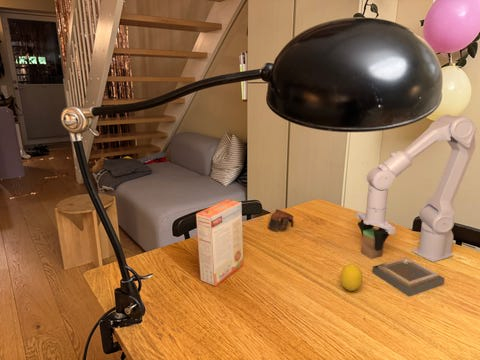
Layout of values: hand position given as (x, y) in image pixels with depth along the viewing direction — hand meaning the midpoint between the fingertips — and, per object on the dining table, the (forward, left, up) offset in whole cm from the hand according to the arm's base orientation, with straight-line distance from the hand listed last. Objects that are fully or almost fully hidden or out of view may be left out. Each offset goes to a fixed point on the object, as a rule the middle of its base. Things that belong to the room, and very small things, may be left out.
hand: (372, 246), depth 111 cm
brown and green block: (0, 0, -3) cm, 3 cm away
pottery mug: (+16, -30, -3) cm, 35 cm away
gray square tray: (+1, +15, -3) cm, 15 cm away
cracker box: (+48, -10, -3) cm, 49 cm away
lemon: (+20, +13, -3) cm, 24 cm away
